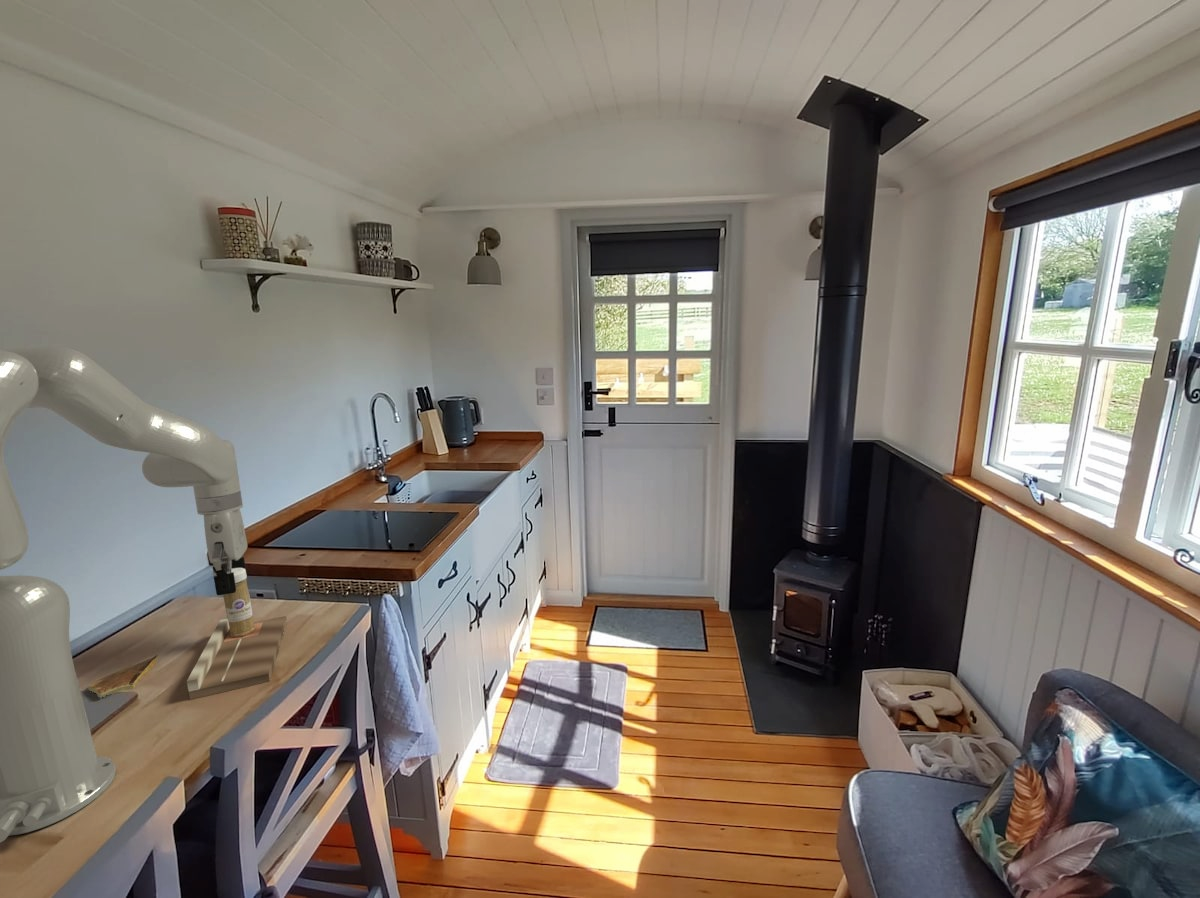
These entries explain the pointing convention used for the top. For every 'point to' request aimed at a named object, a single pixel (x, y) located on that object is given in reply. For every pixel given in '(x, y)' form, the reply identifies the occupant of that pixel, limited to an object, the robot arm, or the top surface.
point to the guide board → (236, 658)
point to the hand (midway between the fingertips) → (232, 584)
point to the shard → (122, 678)
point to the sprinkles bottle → (239, 606)
